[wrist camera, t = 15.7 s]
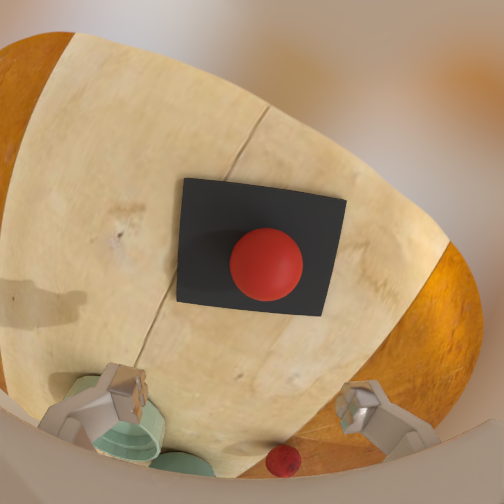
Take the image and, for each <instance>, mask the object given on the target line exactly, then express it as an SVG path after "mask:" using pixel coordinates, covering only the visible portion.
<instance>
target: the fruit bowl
mask: <svg viewBox="0 0 504 504" xmlns="http://www.w3.org/2000/svg"><path fill="white" fill-rule="evenodd" d="M99 378H100V376H84V377H81V378H78V379H76V381H75V382H74V384H73V385H72V387H71V388H70V390H69V391H68V393H67V395H66V396H65V398H64V399H63V400H65V399H67V398H69V397H71V396H73V395H75V394H77V393H80V392H82V391H84V390H86V389H88V388H90V387H95V386H96V384H97V382H98V380H99ZM142 412H143V414H142V417H141V420H140V423H139V425H137V424H132V423H128V422H123V421H119V422H118V423H117V424H116V425H115V426H113V427H112V428H111V429H109V430H108V431H107V432H106V433H104V434H103V435H102V436H100V437H99V438H98V439H96V440H95V441H94V442H92V444H93V446H94V447H95V448H97V449H98V450H100V451H103V452H105V453H107V454H109V455H111V456H114V457H117V458H120V459H124V460H129V461H136V462H144V461H151V460H153V459H155V458H157V457H158V455H159V453H160V451H161V447H162V443H163V439H164V435H165V431H166V427H165V420H164V419H163V417H162V415H161V414H160V412H159V411H158V409H157V408H156V407H155V406H154V405H152V404H151V403H150V402H149V401H148V400H147V401H146V405H145V406H143V407H142Z"/></svg>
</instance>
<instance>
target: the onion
mask: <svg viewBox="0 0 504 504" xmlns="http://www.w3.org/2000/svg"><path fill="white" fill-rule="evenodd" d="M300 465H301V457H300V454H299V452H298V451H297V450H296V449H295V448H293V447H291V446H288V445H283V444H280V445H278V446H277V447H276V448H274V449H272V450H271V451H270V452H269V453H268V455H267V457H266V467H267V469H268V470H269V471H270V472H271V473H272V474H273V475H275V476H277V477H279V478H290V477H291V476H292V475H294V474H295V473H296V472H297V471H298V469H299V467H300Z"/></svg>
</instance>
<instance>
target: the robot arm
mask: <svg viewBox="0 0 504 504" xmlns="http://www.w3.org/2000/svg"><path fill="white" fill-rule="evenodd" d="M145 378H146V374H145V371H144V370H142V369H137V368H133V367H129V366H125V365H120V364H116V363H112V362H110V363H108V364H107V366H106V368H105V369H104V371H103V373H102V375H101V377H100V378H99V380H98V382H97V384H96V386H95V387H90V388H88V389H86V390H84V391H82V392H80V393H77V394H75V395H73V396H71V397H69V398H67V399H65V400H63V401H61V402H59V403H57V404H55V405H53V406H51V407H49V408H48V410H47V412H46V413H45V415H44V417H43V418H42V420H41V422H40V424H39V425H38V427H35V426H33V425H31V424H29V423H27V422H26V421H24V420H22V419H20V418H19V417H17V416H15V415H13V414H12V413H10V412H8V411H7V410H5V409H3V408H2V407H0V504H504V422H502V421H500V420H496V419H489V420H487V421H485V422H483V423H482V424H480V425H478V426H476V427H474V428H472V429H470V430H468V431H466V432H464V433H462V434H460V435H458V436H456V437H453V438H451V439H449V440H447V441H444V442H441V441H440V439H439V437H438V436H437V434H436V432H435V431H434V429H433V427H432V426H431V425H430V424H429V423H427V422H425V421H423V420H421V419H420V418H418V417H416V416H415V415H413V414H411V413H409V412H408V411H406V410H404V409H403V408H401V407H399V406H397V405H396V404H394V403H390V401H389V399H388V398H387V396H386V394H385V393H384V391H383V389H382V387H381V386H380V384H379V382H378V381H377V380H368V381H358V382H346V383H344V384H343V386H342V388H341V390H342V393H341V394H340V395H338V397H337V399H336V402H335V411H336V414H337V416H338V417H340V418H341V419H342V420H341V422H340V425H341V428H342V431H343V433H344V434H351V433H358V432H361V433H362V434H363V435H364V436H365V437H366V438H367V439H368V440H370V441H371V442H372V443H373V444H374V445H375V446H376V447H378V448H379V449H380V450H381V451H382V452H383V453H385V454H386V455H387V457H386V458H385V459H384V460H383V461H382V462H381V463H379V464H375V465H371V466H367V467H362V468H357V469H352V470H347V471H342V472H336V473H329V474H322V475H314V476H305V477H293V478H275V479H238V478H219V477H207V476H198V475H190V474H183V473H176V472H170V471H165V470H159V469H154V468H150V467H145V466H141V465H137V464H133V463H129V462H125V461H122V460H118V459H115V458H111V457H108V456H105V455H102V454H99V453H97V451H96V449H95V447H94V446H93V444H92V442H94V441H95V440H96V439H98V438H99V437H100V436H102V435H103V434H104V433H106V432H107V431H108V430H109V429H111V428H112V427H113V426H115V425H116V424H117V423H118V422H119V421H123V422H128V423H132V424H137V425H139V423H140V420H141V417H142V414H143V412H142V407H143V406H145V405H146V401H147V396H148V387H147V384H146V383H145V382H144V381H145Z"/></svg>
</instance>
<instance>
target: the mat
mask: <svg viewBox="0 0 504 504" xmlns="http://www.w3.org/2000/svg"><path fill="white" fill-rule="evenodd" d="M346 202H347V201H346V200H343V199H338V198H332V197H327V196H321V195H315V194H310V193H304V192H297V191H291V190H285V189H278V188H271V187H264V186H256V185H249V184H241V183H232V182H224V181H214V180H204V179H194V178H184V186H183V196H182V207H181V219H180V233H179V249H178V269H177V302H183V303H190V304H198V305H205V306H213V307H222V308H230V309H239V310H248V311H258V312H269V313H280V314H292V315H306V316H321V314H322V310H323V307H324V303H325V299H326V295H327V291H328V287H329V283H330V279H331V275H332V271H333V266H334V262H335V257H336V253H337V248H338V244H339V239H340V234H341V229H342V224H343V219H344V213H345V208H346ZM261 228H272V229H276V230H279V231H282V232H284V233H285V234H287V235H288V236H290V237H291V238H292V239H293V240H294V241H295V243H296V244H297V246H298V247H299V249H300V252H301V255H302V260H303V269H302V274H301V277H300V280H299V282H298V284H297V285H296V287H295V288H294V289H293V290H292V291H291V292H290V293H289V294H287V295H286V296H284V297H282V298H280V299H277V300H273V301H259V300H255V299H253V298H250V297H248V296H247V295H245V294H244V293H243V292H242V291H241V290H240V289H239V288H238V287H237V286H236V284H235V282H234V281H233V278H232V276H231V272H230V258H231V254H232V251H233V249H234V247H235V245H236V243H237V242H238V241H239V240H240V239H241V238H242V237H243V236H244V235H246V234H247V233H249V232H251V231H253V230H256V229H261Z"/></svg>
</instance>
